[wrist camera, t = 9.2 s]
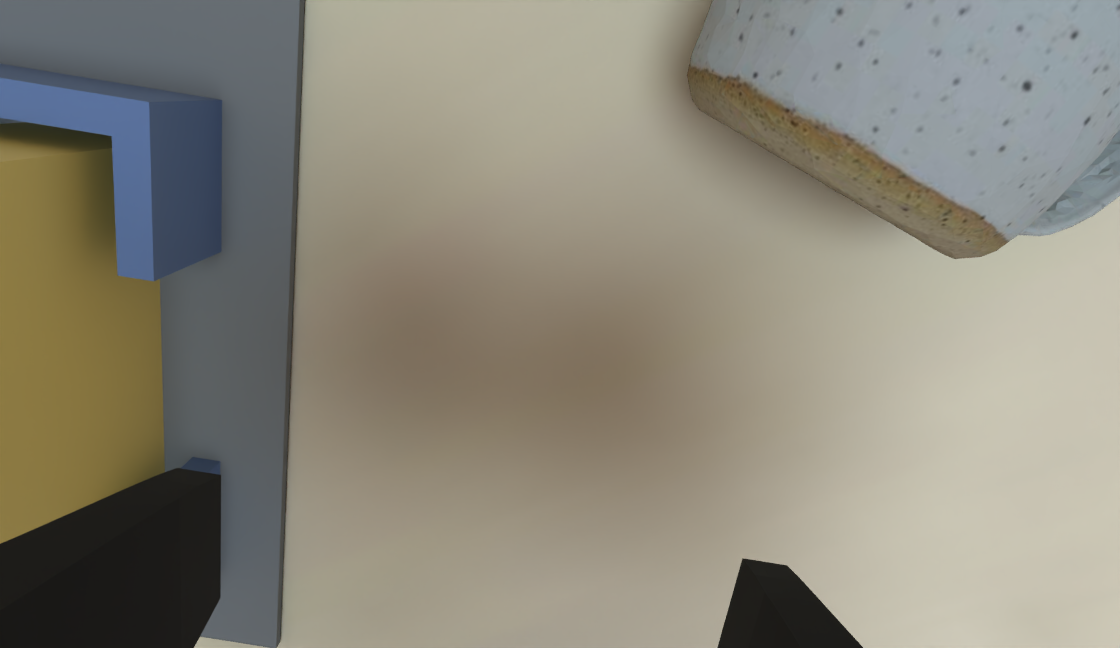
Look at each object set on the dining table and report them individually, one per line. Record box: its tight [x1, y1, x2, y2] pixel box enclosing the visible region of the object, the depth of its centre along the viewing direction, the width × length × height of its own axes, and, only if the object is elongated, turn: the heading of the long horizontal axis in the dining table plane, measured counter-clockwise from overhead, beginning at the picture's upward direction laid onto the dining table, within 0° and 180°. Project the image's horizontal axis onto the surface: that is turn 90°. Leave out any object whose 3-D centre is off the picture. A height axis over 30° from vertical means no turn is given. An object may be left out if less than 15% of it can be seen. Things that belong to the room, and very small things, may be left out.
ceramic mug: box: [687, 0, 1120, 259], centre depth 13 cm, size 11×8×8 cm
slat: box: [0, 122, 165, 544], centre depth 17 cm, size 11×3×6 cm, turn 171°
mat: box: [0, 0, 305, 648], centre depth 20 cm, size 19×10×1 cm, turn 171°
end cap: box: [0, 64, 222, 281], centre depth 16 cm, size 4×6×3 cm, turn 81°
